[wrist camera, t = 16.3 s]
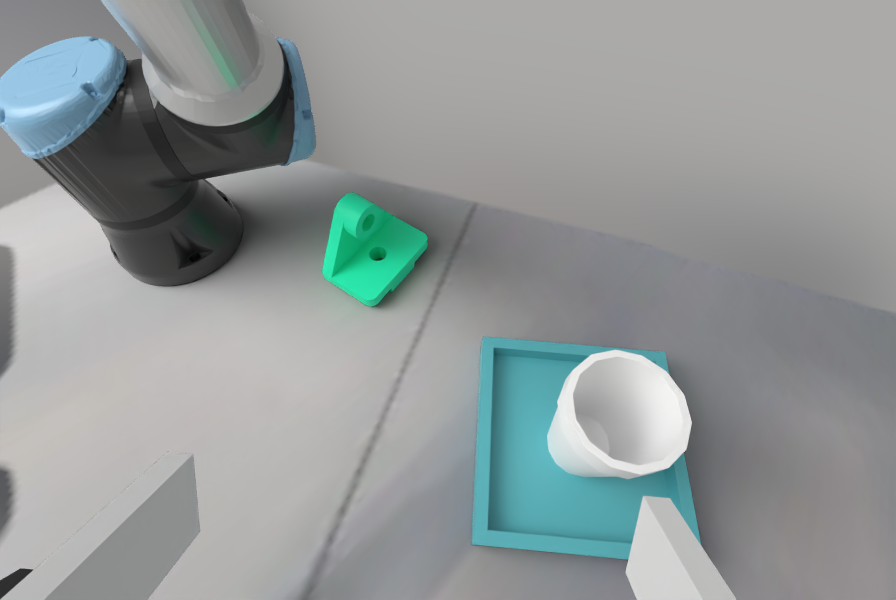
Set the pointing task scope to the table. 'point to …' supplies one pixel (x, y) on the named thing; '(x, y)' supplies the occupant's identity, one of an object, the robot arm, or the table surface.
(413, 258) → the camera mount
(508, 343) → the teal tray
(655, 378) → the foam cup
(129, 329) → the table surface
